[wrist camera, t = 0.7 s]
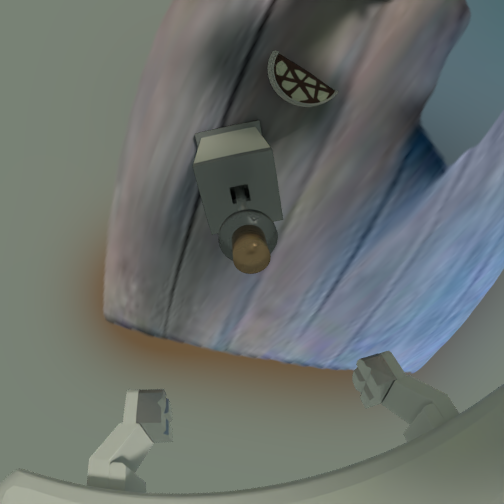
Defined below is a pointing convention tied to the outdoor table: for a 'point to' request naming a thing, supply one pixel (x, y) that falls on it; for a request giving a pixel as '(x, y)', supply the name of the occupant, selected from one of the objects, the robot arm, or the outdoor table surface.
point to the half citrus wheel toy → (296, 83)
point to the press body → (235, 172)
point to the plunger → (247, 235)
